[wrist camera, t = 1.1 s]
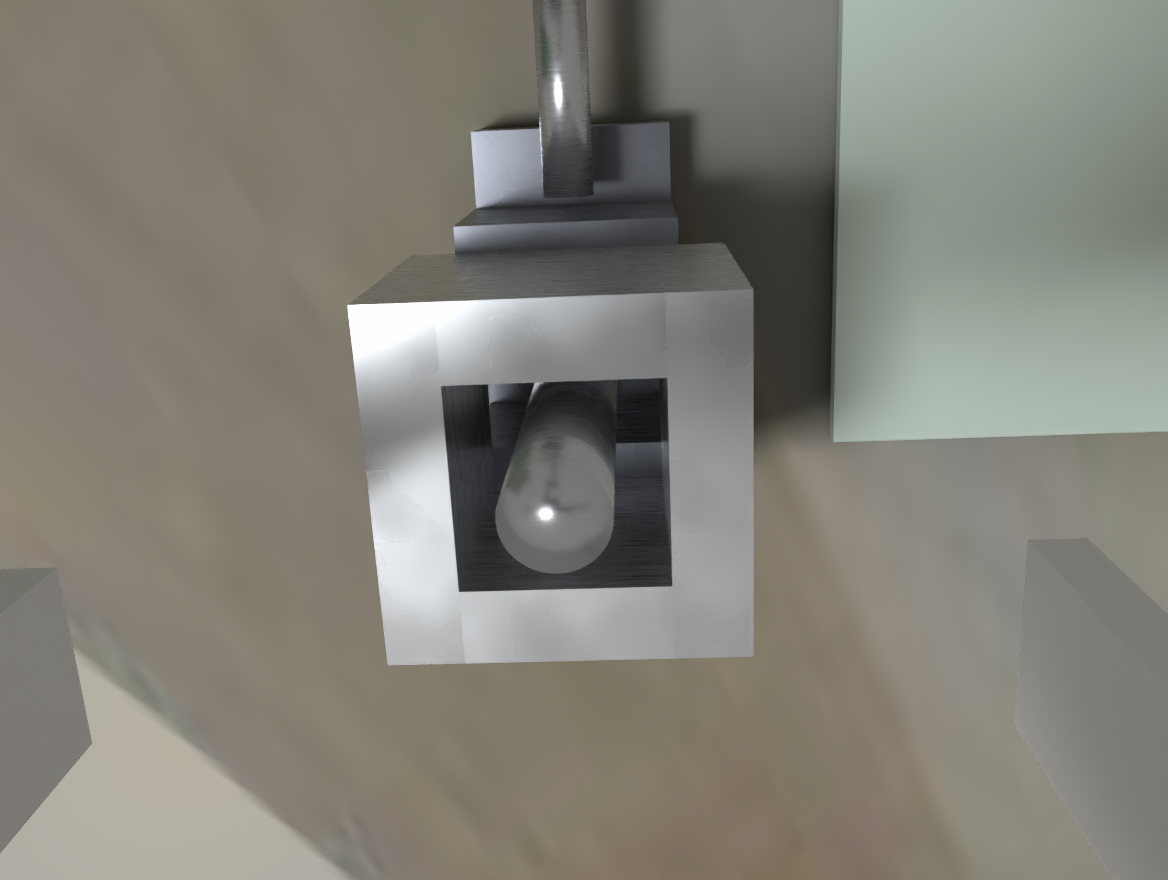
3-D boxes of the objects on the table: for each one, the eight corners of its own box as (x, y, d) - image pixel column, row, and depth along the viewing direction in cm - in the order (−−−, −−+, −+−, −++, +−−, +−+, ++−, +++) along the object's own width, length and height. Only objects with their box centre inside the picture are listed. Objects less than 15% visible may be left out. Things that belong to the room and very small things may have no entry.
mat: (839, -10, 28) (843, -12, 28) (1319, -35, 28) (1334, -37, 27) (829, 436, 32) (833, 442, 32) (1255, 421, 31) (1266, 428, 31)
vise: (470, -11, 29) (345, -91, 16) (663, -21, 29) (694, -111, 16) (510, 541, 33) (437, 823, 21) (676, 536, 33) (707, 819, 20)
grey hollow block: (411, 255, 25) (347, 305, 19) (723, 242, 25) (753, 289, 19) (438, 543, 27) (387, 665, 21) (726, 535, 27) (754, 656, 21)
